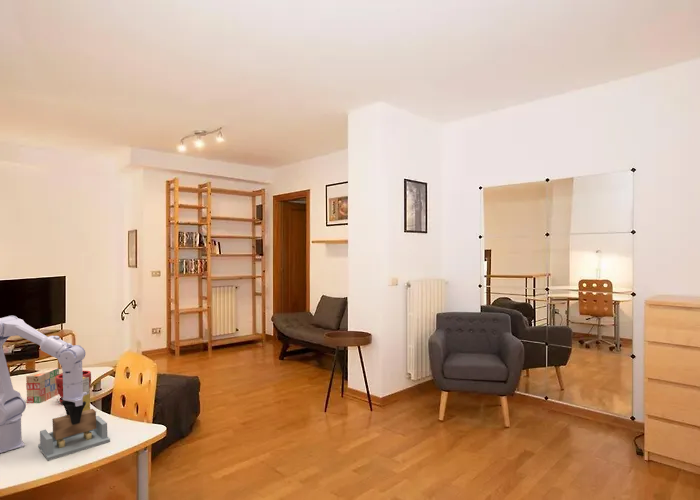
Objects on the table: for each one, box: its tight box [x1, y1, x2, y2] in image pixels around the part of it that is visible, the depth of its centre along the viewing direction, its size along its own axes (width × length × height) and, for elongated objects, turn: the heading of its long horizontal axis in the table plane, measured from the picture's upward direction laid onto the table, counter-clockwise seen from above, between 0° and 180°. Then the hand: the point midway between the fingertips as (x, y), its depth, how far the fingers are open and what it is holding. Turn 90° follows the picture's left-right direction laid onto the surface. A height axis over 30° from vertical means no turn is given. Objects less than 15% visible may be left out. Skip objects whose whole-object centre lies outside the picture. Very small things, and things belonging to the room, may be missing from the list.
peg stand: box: [37, 415, 111, 462], centre depth 149 cm, size 18×14×6 cm
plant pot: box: [56, 370, 92, 403], centre depth 193 cm, size 13×13×12 cm
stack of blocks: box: [25, 367, 63, 404], centre depth 202 cm, size 21×6×12 cm, turn 178°
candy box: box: [83, 376, 91, 411], centre depth 177 cm, size 9×4×15 cm, turn 60°
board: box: [51, 408, 97, 440], centre depth 149 cm, size 12×4×6 cm, turn 136°
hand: (74, 422), depth 149 cm, fingers closed on board, 4 cm apart
